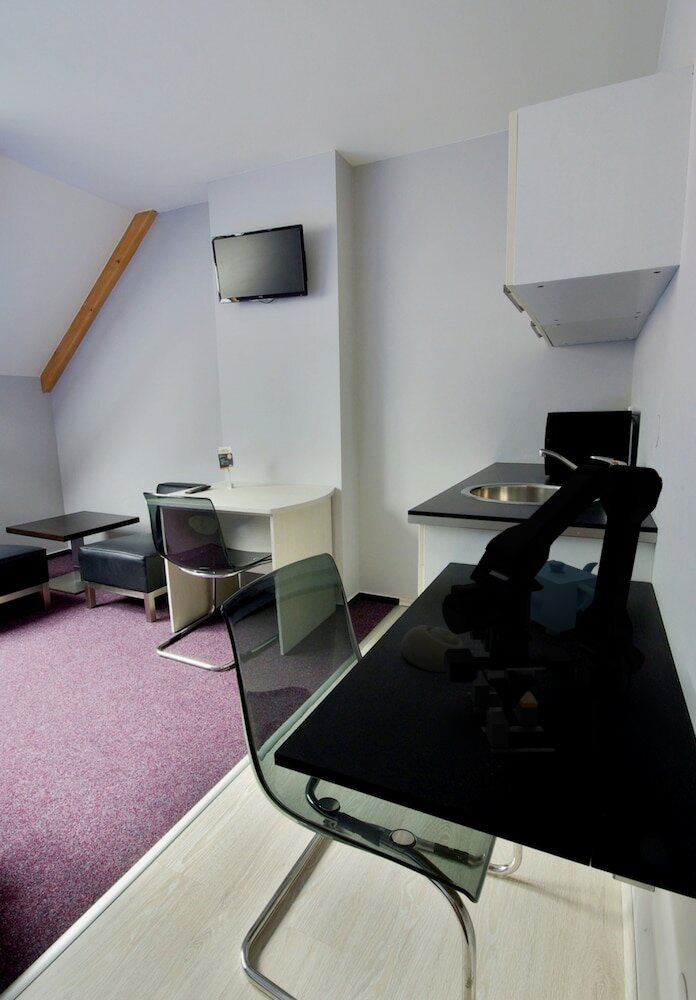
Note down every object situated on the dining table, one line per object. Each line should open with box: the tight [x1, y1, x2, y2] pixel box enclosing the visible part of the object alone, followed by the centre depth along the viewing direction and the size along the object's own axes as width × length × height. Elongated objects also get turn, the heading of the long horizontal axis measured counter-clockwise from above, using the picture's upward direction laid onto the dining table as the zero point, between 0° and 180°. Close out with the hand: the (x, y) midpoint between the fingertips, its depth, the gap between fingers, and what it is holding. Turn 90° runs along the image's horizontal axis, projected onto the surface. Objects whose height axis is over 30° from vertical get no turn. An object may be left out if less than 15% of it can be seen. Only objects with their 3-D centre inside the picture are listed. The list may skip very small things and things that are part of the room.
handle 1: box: [469, 675, 491, 708], centre depth 82 cm, size 2×3×4 cm
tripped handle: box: [514, 691, 539, 726], centre depth 77 cm, size 2×3×4 cm
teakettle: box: [530, 559, 599, 636], centre depth 114 cm, size 19×19×15 cm
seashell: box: [400, 624, 466, 673], centre depth 96 cm, size 13×8×10 cm
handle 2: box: [485, 711, 510, 749], centre depth 72 cm, size 2×3×4 cm
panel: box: [466, 691, 556, 754], centre depth 78 cm, size 18×16×1 cm
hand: (506, 714), depth 77 cm, fingers closed
